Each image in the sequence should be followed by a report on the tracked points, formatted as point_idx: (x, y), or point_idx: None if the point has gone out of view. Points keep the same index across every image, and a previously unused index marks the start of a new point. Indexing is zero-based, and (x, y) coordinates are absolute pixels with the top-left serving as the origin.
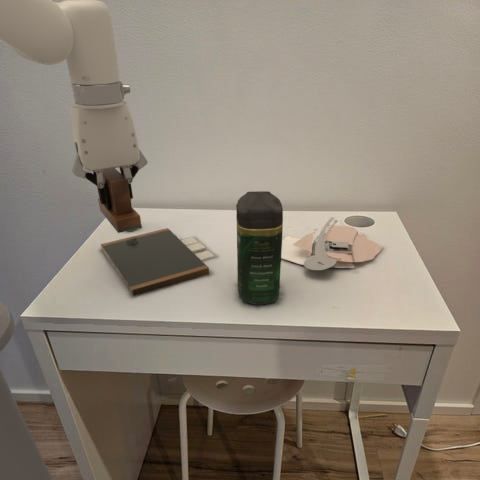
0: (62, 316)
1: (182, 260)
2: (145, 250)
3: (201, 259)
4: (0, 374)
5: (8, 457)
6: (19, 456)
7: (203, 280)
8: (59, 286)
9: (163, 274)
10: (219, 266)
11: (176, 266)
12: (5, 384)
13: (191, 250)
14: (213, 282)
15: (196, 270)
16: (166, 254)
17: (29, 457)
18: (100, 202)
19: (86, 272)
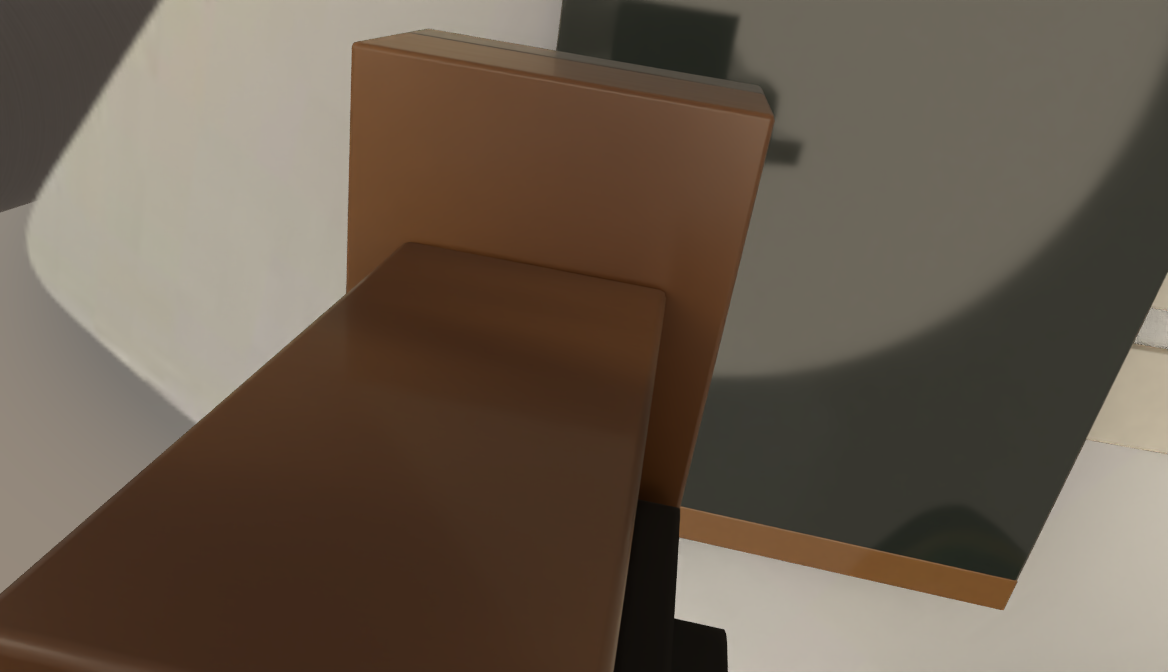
0: (155, 381)
1: (953, 435)
2: (857, 102)
3: (1099, 441)
4: (36, 135)
5: None
6: None
7: (907, 598)
8: (176, 74)
9: (732, 490)
10: (1113, 557)
11: (861, 469)
12: (78, 123)
13: (1165, 297)
14: (932, 645)
15: (918, 586)
16: (934, 286)
17: None
18: (349, 215)
19: (372, 9)
